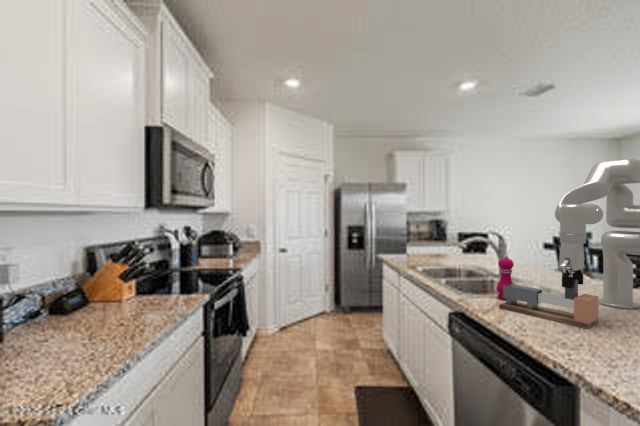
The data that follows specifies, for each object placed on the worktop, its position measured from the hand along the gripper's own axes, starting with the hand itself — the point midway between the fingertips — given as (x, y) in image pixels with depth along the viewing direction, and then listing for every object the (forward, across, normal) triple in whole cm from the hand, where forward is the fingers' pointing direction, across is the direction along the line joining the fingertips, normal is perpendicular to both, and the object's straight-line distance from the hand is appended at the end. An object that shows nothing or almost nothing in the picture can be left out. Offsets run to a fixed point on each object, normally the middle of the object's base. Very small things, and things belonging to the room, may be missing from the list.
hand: (572, 285), depth 123 cm
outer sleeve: (+11, +1, -17) cm, 20 cm away
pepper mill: (+13, -11, -29) cm, 34 cm away
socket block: (+11, +1, +4) cm, 12 cm away
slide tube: (+8, +1, -4) cm, 9 cm away
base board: (+13, +1, -8) cm, 15 cm away
